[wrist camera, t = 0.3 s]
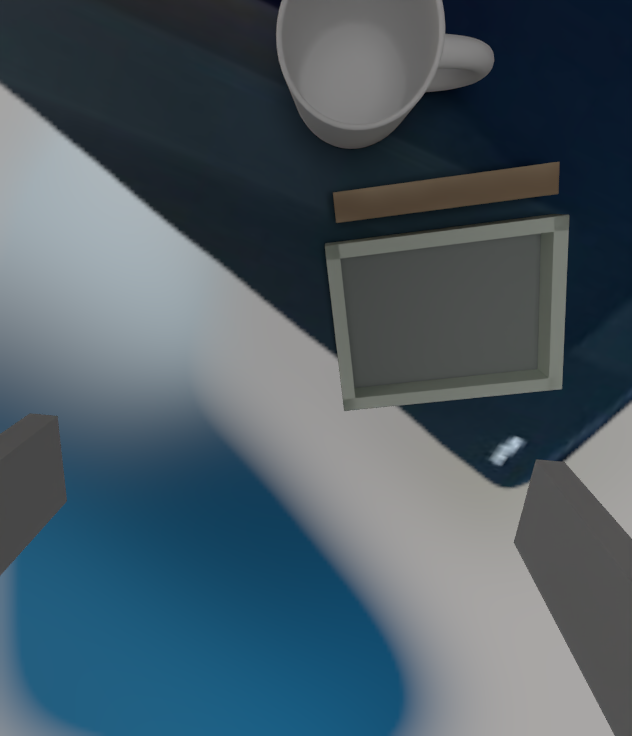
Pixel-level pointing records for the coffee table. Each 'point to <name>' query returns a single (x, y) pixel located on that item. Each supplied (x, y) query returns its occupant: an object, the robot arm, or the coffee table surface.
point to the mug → (370, 63)
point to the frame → (450, 312)
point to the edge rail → (447, 192)
